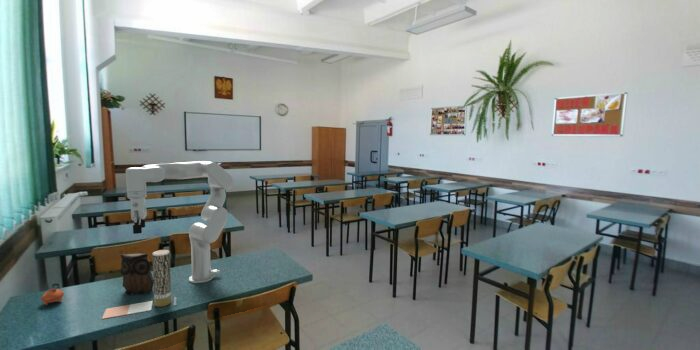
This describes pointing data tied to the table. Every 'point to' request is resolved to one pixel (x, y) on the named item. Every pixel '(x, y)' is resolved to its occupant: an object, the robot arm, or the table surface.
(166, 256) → the birch log
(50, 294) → the pot
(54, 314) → the table surface
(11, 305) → the table surface
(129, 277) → the brown owl figurine
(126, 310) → the board
